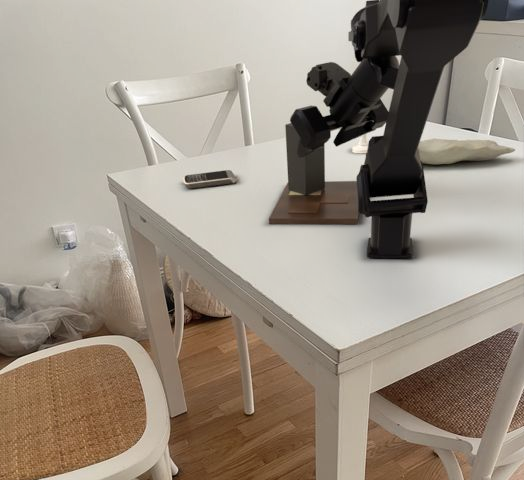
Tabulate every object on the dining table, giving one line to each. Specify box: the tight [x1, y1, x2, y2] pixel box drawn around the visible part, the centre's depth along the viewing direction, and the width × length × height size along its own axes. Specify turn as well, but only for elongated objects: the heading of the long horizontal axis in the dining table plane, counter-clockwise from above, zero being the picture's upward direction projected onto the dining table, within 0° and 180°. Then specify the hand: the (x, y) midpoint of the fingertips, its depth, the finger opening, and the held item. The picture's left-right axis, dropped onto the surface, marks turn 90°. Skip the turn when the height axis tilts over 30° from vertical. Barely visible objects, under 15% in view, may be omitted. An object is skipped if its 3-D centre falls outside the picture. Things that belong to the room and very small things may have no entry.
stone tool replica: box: [418, 138, 516, 166], centre depth 113 cm, size 15×5×25 cm
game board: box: [268, 180, 360, 225], centre depth 99 cm, size 20×15×1 cm
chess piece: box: [351, 134, 369, 154], centre depth 124 cm, size 5×5×10 cm
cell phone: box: [182, 169, 237, 190], centre depth 115 cm, size 6×11×1 cm, turn 99°
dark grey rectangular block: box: [285, 122, 326, 195], centre depth 100 cm, size 5×5×12 cm
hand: (317, 149), depth 97 cm, fingers open, 9 cm apart
